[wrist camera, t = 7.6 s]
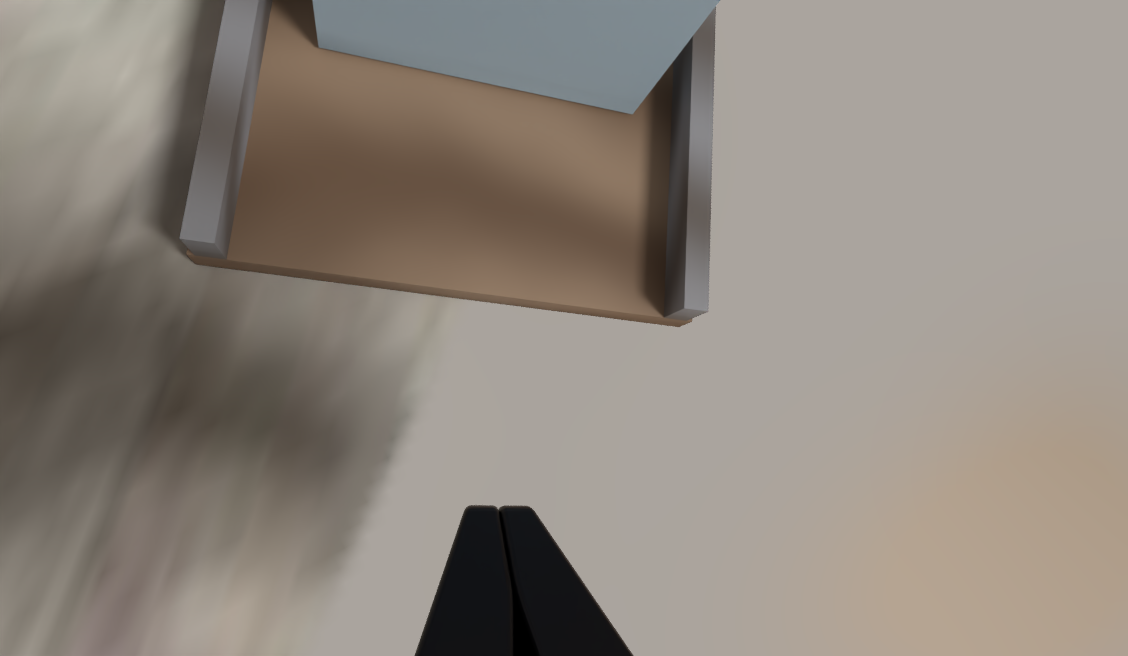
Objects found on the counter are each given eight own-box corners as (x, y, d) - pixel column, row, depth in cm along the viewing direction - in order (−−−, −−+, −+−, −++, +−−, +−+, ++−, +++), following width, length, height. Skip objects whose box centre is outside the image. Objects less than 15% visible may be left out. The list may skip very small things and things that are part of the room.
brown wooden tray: (678, 326, 23) (759, 293, 18) (195, 264, 19) (137, 201, 14) (693, -107, 26) (763, -229, 22) (288, -232, 23) (266, -414, 18)
